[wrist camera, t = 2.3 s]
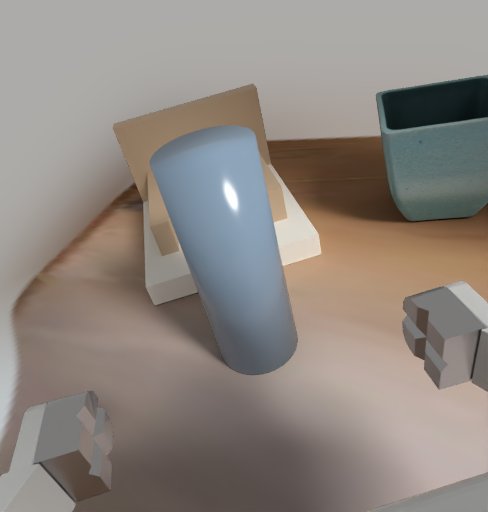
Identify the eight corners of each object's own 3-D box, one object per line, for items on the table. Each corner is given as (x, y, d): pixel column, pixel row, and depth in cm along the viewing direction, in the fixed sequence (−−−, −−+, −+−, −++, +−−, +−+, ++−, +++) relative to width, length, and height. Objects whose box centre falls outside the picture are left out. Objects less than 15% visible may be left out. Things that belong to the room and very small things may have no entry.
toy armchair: (270, 175, 47) (252, 83, 41) (321, 254, 34) (305, 137, 29) (149, 211, 47) (113, 123, 41) (154, 305, 34) (103, 197, 28)
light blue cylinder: (284, 305, 31) (243, 116, 22) (308, 359, 26) (267, 151, 18) (215, 327, 30) (148, 144, 22) (228, 385, 26) (150, 186, 18)
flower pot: (378, 184, 41) (375, 90, 36) (479, 174, 39) (492, 72, 33) (384, 238, 34) (381, 132, 29) (507, 230, 32) (528, 113, 27)
